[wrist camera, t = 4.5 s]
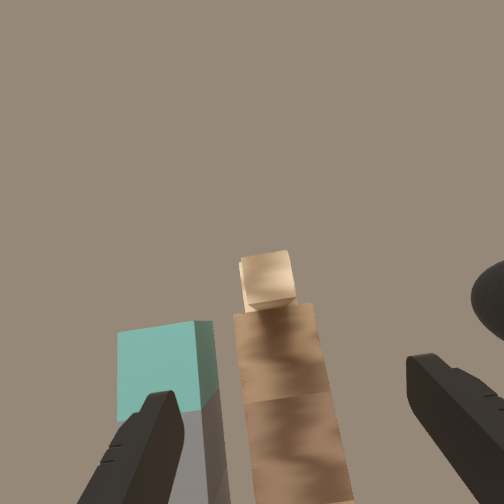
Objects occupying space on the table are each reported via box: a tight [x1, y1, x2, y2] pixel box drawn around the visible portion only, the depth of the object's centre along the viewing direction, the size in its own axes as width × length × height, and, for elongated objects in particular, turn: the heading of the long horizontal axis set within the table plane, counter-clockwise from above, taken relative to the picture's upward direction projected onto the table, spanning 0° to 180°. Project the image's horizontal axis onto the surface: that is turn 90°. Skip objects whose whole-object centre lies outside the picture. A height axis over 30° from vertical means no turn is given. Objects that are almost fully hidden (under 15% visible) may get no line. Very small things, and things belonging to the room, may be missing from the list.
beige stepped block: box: [239, 250, 298, 313], centre depth 24 cm, size 6×18×6 cm, turn 175°
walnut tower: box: [233, 302, 355, 504], centre depth 24 cm, size 8×8×32 cm
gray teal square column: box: [117, 321, 231, 504], centre depth 24 cm, size 8×8×32 cm
